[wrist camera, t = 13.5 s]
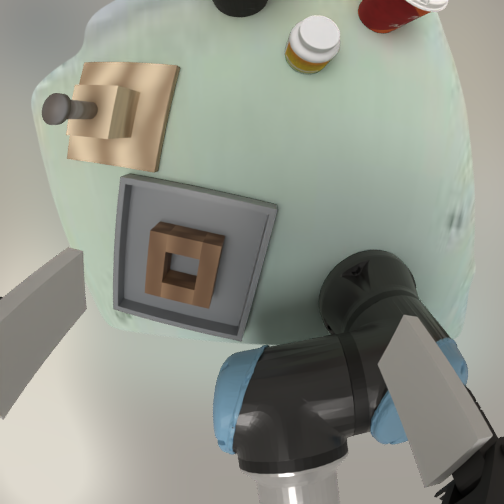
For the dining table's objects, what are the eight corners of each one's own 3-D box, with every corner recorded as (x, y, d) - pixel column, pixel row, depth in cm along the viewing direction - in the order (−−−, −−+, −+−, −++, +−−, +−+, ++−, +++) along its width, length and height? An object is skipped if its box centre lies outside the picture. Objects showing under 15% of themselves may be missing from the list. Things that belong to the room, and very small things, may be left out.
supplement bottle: (325, 78, 32) (346, 61, 23) (282, 71, 32) (289, 50, 23) (328, 41, 30) (348, 15, 21) (286, 34, 30) (294, 5, 21)
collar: (225, 235, 40) (221, 246, 36) (213, 294, 43) (209, 308, 39) (160, 221, 39) (150, 230, 35) (153, 279, 42) (144, 292, 39)
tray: (276, 204, 38) (277, 209, 36) (242, 329, 46) (241, 341, 43) (129, 173, 37) (120, 176, 34) (120, 299, 44) (113, 309, 42)
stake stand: (180, 68, 32) (135, 34, 18) (157, 171, 37) (103, 193, 23) (89, 64, 31) (22, 45, 17) (72, 157, 36) (1, 175, 22)
